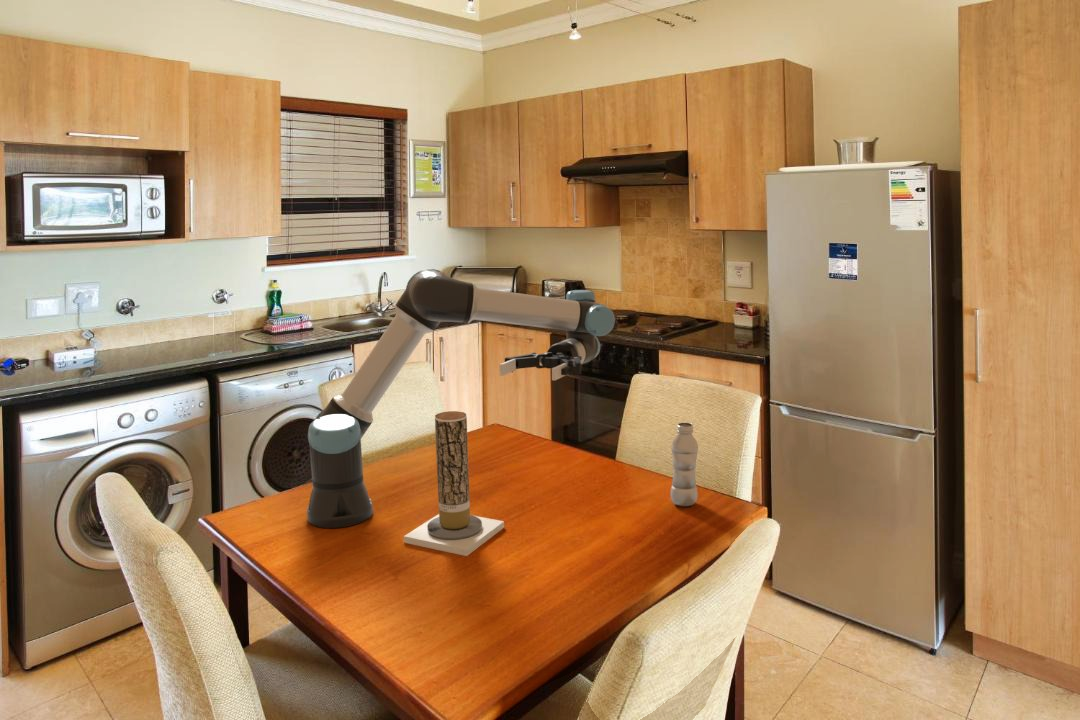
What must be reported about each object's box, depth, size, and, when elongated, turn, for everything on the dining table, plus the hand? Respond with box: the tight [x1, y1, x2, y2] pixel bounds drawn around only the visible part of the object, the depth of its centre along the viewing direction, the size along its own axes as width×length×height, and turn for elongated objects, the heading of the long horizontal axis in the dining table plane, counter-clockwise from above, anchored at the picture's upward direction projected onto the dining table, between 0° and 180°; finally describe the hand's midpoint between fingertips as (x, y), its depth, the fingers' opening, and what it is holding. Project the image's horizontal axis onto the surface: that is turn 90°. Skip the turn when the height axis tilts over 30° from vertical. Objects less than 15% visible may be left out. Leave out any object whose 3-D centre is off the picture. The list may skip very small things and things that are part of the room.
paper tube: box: [434, 410, 471, 529], centre depth 167 cm, size 7×7×25 cm
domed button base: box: [403, 514, 505, 557], centre depth 169 cm, size 16×16×2 cm
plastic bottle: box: [670, 422, 699, 507], centre depth 183 cm, size 6×7×20 cm
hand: (526, 372), depth 175 cm, fingers open, 13 cm apart
